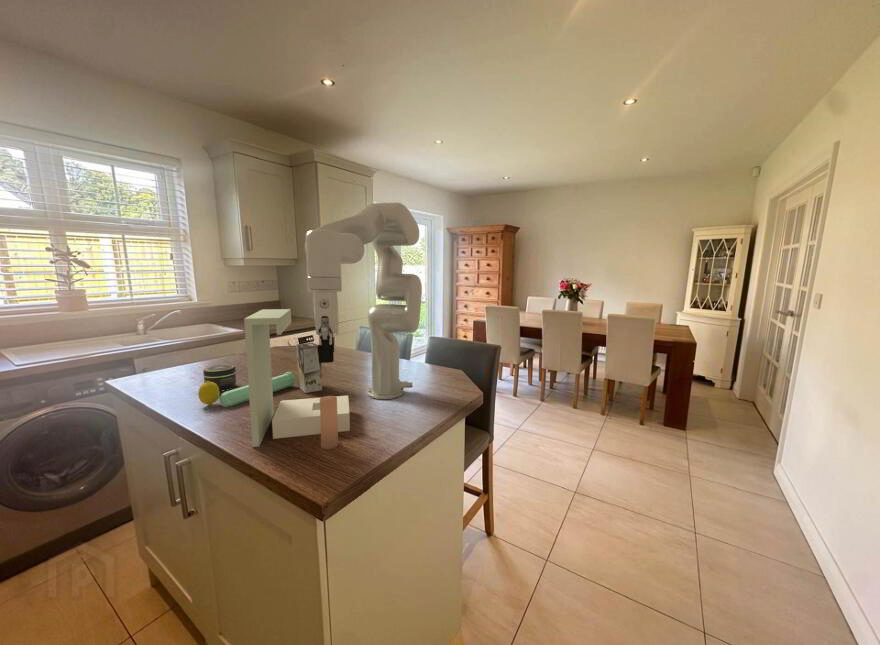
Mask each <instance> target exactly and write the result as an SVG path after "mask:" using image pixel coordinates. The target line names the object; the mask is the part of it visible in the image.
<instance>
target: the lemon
mask: <svg viewBox="0 0 880 645" xmlns="http://www.w3.org/2000/svg"><path fill="white" fill-rule="evenodd" d="M197 392H198V393H197V394H198V399H199V400H200V402H201V403H202V404H205V405H207V406H209V405H210V406H212V405H213V404H215V403H216V402H217V401H218V399H220V392H219V388H218V386H217V384H215V383H214V382H210V381H207V382H206V383H204V382H203V383H202V384H201V385H200V386H199V389H198V391H197Z"/></svg>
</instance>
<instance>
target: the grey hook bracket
mask: <svg viewBox="0 0 880 645" xmlns="http://www.w3.org/2000/svg"><path fill="white" fill-rule="evenodd" d="M291 310H292V309H291V308H286V309H285V308H279V309H276V308H275V309H273V308H272V309H270V308H269V309H267V308H266V309H260V310H258V311H257V312H254V313H252V314H251V315H249V316H246V317H245V318H243V321H244V339H245V351H246V352H245V353H246V370H247V382H248V383H247V385H248V386H249V401H248V402H249V414H250V416H249V417H250V429H251V444H252V448H258V447H260V445H261V443H262V441H263V439H264V437H265V435H266V433H267V431H268V428H269V426H270V424H271V423H272V419H273V417H274V415H275V413H274V411H275V410H274V397H273V395H274V392H273V390H272V378H273V375H272V374H273V372H272V360H271V359H272V358H271V355H272V354H271V339H270V338H271V337H270V325H275V328H276V336H277V335H278V336H280V335H282V334H283V333H284V331H286V329H287V328H288V327H289V326H290V325H291V324H292V311H291Z"/></svg>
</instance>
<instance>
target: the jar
mask: <svg viewBox="0 0 880 645" xmlns="http://www.w3.org/2000/svg"><path fill="white" fill-rule="evenodd" d="M202 371H203V373H202V374H203V375H202V376H203V381H204V382H203V384H204V383H206V382H207V381H210V382H214V383H215V384H217V386H218V388H219V391H220V392H223V391H222V390H226V391H228V390H227V389H229V390H231V389H230V388H232V389H234V388H235V387H236V385H237V374H236V373H237V369H236V366H235V365H233V364H226V363H225V364H216V365H210V366H207V367H205V368H204V369H203V370H202ZM234 386H235V387H234ZM233 387H234V388H233Z"/></svg>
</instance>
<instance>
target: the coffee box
mask: <svg viewBox="0 0 880 645" xmlns="http://www.w3.org/2000/svg"><path fill="white" fill-rule="evenodd" d="M318 345H319V344H316V343H314V342H306V343H299V344H296V348H295V349H296V360H297V361H296V365H297V381H298V382H297V384H298V388H299V389H300V390H301V391H303V393H305V394H308V393H312V392H313V393H315V392H319V391H322V390H323V375H322V374H323V373H322V363H319V358H318Z"/></svg>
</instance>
